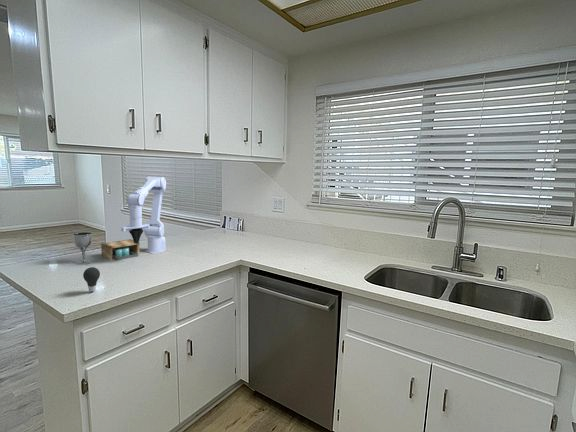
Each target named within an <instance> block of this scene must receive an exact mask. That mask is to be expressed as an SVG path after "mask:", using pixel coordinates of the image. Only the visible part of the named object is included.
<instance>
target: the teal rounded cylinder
mask: <svg viewBox="0 0 576 432" xmlns="http://www.w3.org/2000/svg"><path fill="white" fill-rule="evenodd" d="M128 255H130V254H129V248H127V247H126V248H122V256H128Z"/></svg>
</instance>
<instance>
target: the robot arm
mask: <svg viewBox="0 0 576 432" xmlns="http://www.w3.org/2000/svg"><path fill="white" fill-rule="evenodd" d="M166 187H167V181H166V178H165V177H164V176H150V175H149V176H147V177H146V178H145V183H144V184H143V186H139V187H138V188H137V189H136V190H135V191H134V192H133V193H131V194H128V196H127V197H126V204H127V209H129V212H128V213H129V225H126V226H121V227H120V228H121V230H120V231H121V232H129V234H130V235H131V237H132V238H131V239H132V240H133V241H134V243H136V244H137V243H139V244H140V239H141V236H142V234H144V236H145V237H146V238H147V249H145V250H144V252H147V253H148V254H151V255H153V254H157V253H162V252H166V251H167V244H166V243H167V241H166V237H165V236H164V234H165V224H164V223H163V222H162V221H161V220H160V219H161V211H162V203H163V202H162V201H163V195H164V193H165V192H166ZM149 191H150V192H152V193H153V196H152V206H151V212H150V213H151V214H150V219H149V220H148V221H146V223H144V224H143V213H142V212H143V211H142V210H143V207H142V206H143V205H144V203H145V200H146V198H147V196H148V195H149V193H150V192H149Z"/></svg>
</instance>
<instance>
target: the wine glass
mask: <svg viewBox="0 0 576 432" xmlns="http://www.w3.org/2000/svg"><path fill="white" fill-rule="evenodd" d="M72 239H73V243H74V245H75V247H77V248H78V249H79V250H80V252H81V256H82V260H80V261H79V260H78V261H76V262H75V265H88V264H91V263H92V260H88V259H85V257H86V256H85V254H86V251H87V249H88V248H89V247H90V245H91V243H92V239H93V234H92V232H91V231H80V232H74V233H73V234H72Z"/></svg>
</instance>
